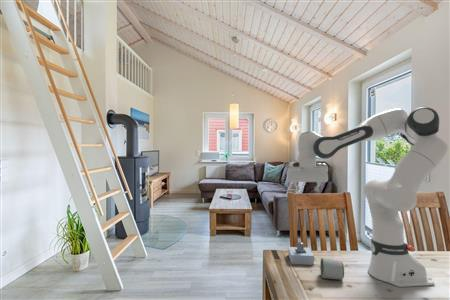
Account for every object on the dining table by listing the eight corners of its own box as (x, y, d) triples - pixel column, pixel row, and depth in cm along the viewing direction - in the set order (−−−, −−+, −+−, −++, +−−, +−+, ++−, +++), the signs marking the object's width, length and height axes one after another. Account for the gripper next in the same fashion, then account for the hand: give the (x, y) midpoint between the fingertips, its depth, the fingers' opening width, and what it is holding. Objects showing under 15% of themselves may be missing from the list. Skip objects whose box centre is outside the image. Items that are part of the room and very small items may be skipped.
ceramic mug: (345, 283, 102) (345, 263, 102) (323, 281, 103) (323, 262, 103) (338, 271, 112) (338, 253, 112) (318, 269, 114) (318, 252, 114)
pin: (303, 258, 125) (303, 241, 125) (304, 261, 122) (304, 244, 122) (296, 258, 125) (296, 241, 125) (297, 261, 122) (297, 244, 122)
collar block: (309, 255, 128) (309, 247, 128) (313, 264, 118) (313, 255, 118) (288, 254, 129) (288, 246, 129) (291, 263, 119) (291, 255, 119)
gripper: (326, 163, 135) (326, 190, 135) (286, 163, 137) (286, 189, 137) (330, 164, 129) (329, 192, 129) (287, 163, 131) (287, 191, 131)
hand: (306, 190), depth 133 cm, fingers open, 8 cm apart
